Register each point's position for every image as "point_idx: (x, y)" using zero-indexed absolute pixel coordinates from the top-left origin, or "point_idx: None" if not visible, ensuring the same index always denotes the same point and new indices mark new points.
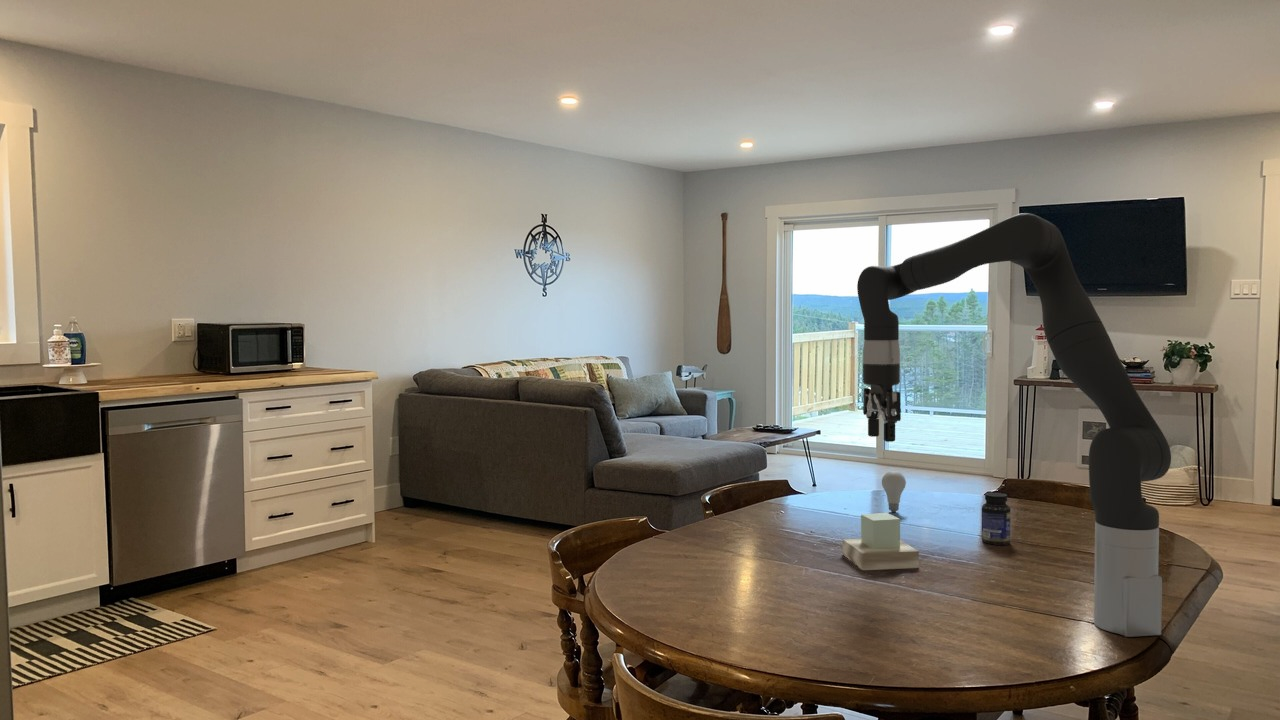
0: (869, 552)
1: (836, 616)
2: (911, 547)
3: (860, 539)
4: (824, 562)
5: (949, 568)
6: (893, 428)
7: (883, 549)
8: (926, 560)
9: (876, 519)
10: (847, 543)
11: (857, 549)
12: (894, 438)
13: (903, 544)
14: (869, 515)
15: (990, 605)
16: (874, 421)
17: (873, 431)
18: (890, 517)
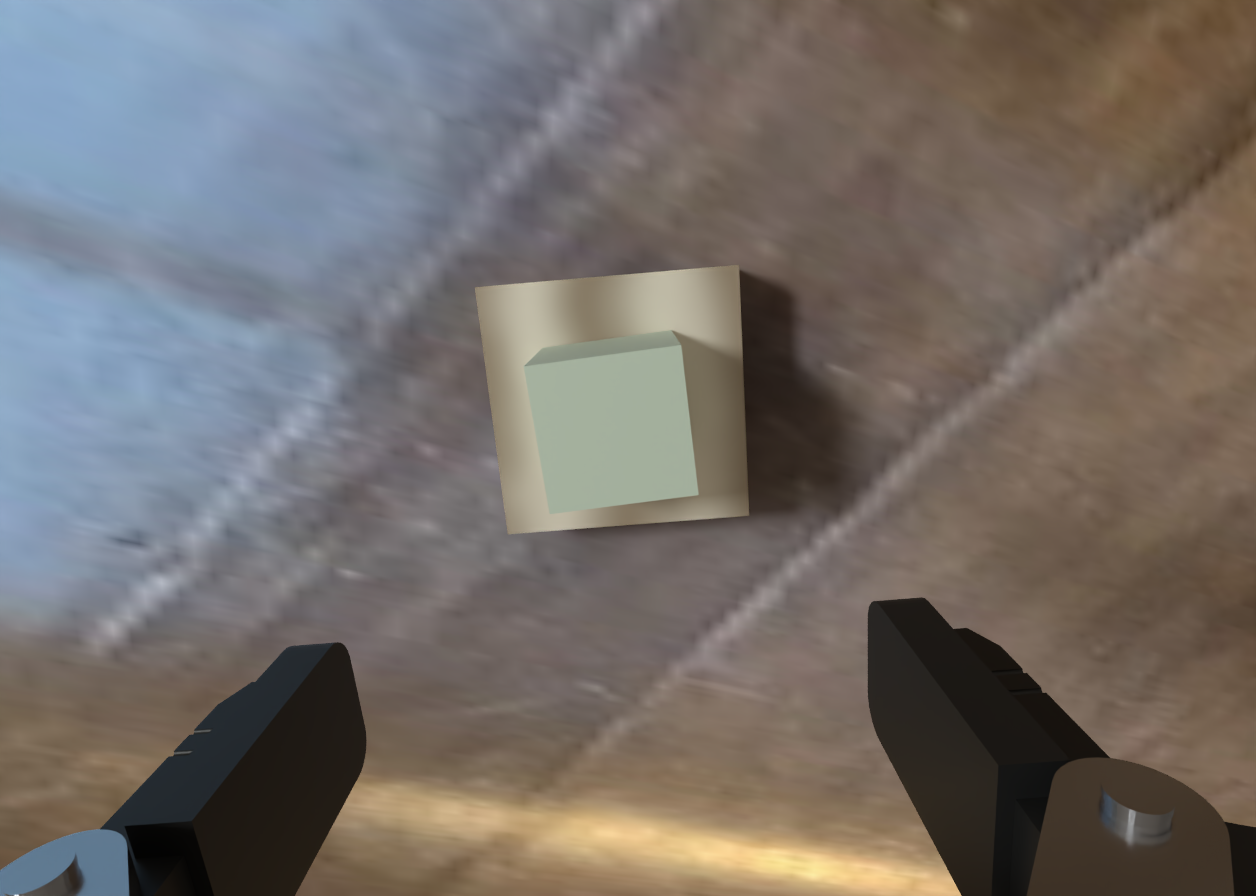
0: (737, 484)
1: (1200, 695)
2: (669, 275)
3: (515, 460)
4: (621, 599)
5: (752, 134)
6: (1076, 748)
7: (694, 412)
8: (620, 190)
9: (677, 471)
10: (570, 528)
11: (686, 519)
12: (934, 616)
13: (613, 294)
14: (578, 478)
15: (1242, 173)
16: (238, 865)
17: (331, 750)
18: (640, 385)
